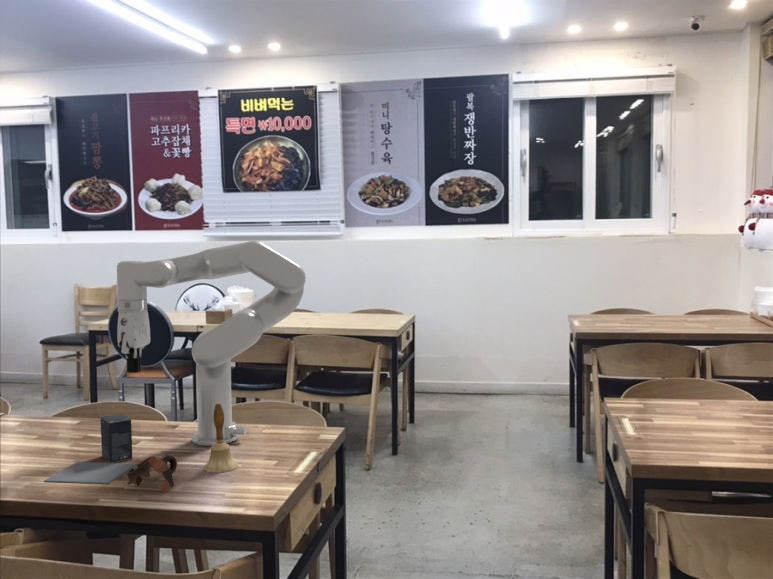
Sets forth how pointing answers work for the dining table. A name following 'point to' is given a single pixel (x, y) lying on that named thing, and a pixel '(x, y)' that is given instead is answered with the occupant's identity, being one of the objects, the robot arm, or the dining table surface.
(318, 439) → the dining table surface
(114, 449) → the box
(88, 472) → the mat
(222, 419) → the hand bell
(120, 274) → the robot arm
